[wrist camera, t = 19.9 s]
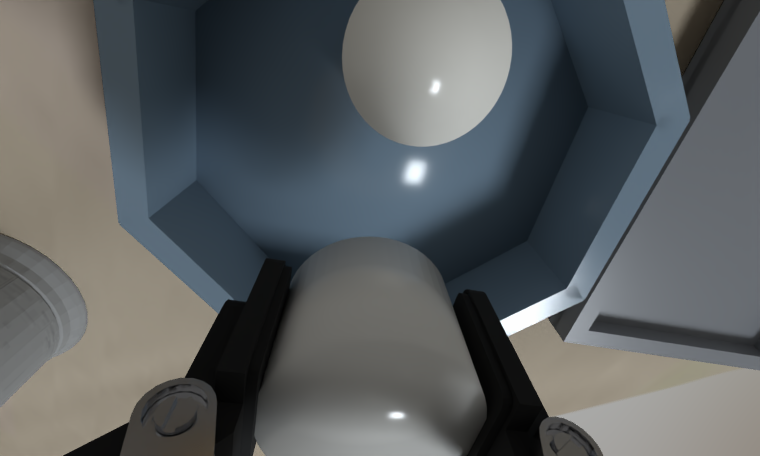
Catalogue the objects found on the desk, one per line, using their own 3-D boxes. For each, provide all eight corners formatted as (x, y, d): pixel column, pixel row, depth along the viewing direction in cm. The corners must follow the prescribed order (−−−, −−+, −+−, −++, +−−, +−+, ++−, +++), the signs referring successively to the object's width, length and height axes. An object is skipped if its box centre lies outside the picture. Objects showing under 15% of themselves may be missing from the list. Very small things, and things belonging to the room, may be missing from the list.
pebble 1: (491, 0, 13) (538, -17, 10) (452, 133, 16) (480, 159, 12) (359, -34, 13) (358, -66, 9) (338, 110, 15) (330, 130, 11)
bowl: (670, -44, 14) (810, -85, 9) (499, 319, 21) (533, 387, 17) (170, -202, 11) (52, -355, 7) (183, 271, 19) (131, 336, 15)
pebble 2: (468, 251, 11) (523, 357, 7) (423, 371, 13) (447, 498, 9) (296, 222, 10) (260, 322, 6) (279, 354, 12) (245, 484, 8)
